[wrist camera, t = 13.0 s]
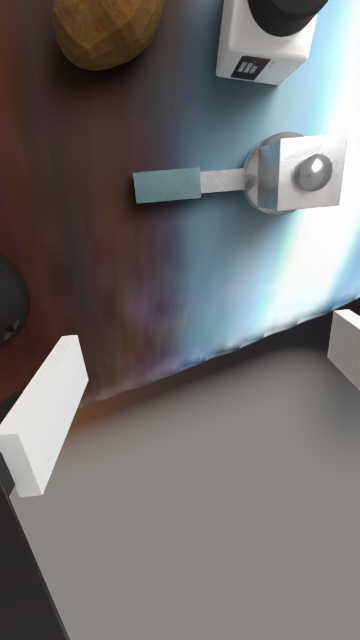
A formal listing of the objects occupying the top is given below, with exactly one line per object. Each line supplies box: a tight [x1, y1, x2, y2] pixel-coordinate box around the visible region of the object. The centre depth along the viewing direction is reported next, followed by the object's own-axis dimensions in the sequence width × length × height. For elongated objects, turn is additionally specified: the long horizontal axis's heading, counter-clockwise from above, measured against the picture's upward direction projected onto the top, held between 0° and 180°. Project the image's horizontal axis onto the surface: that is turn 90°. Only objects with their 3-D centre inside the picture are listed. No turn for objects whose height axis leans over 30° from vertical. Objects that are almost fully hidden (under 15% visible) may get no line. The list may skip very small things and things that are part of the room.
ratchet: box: [133, 132, 305, 215], centre depth 35 cm, size 22×9×8 cm, turn 95°
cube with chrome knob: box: [257, 133, 348, 211], centre depth 32 cm, size 6×6×8 cm
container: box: [216, 0, 328, 85], centre depth 27 cm, size 8×8×13 cm
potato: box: [51, 0, 164, 71], centre depth 28 cm, size 8×12×8 cm, turn 128°
